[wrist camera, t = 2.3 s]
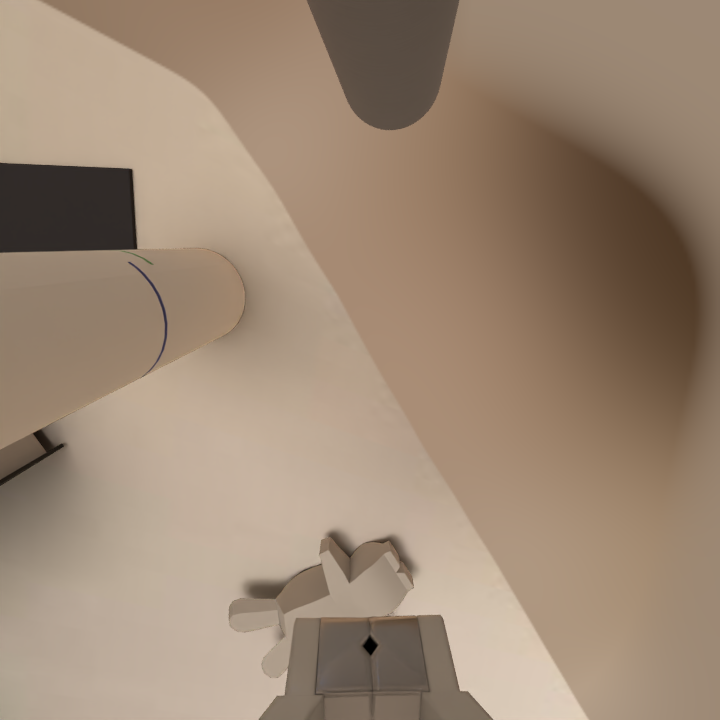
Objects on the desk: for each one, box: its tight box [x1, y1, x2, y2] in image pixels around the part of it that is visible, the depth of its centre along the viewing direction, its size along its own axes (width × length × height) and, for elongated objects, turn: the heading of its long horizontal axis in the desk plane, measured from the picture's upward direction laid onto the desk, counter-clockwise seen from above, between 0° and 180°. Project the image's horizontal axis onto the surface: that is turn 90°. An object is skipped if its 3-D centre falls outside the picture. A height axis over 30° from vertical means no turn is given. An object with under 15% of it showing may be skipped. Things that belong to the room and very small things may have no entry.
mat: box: [0, 163, 136, 253], centre depth 38 cm, size 14×22×1 cm, turn 87°
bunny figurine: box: [229, 537, 414, 678], centre depth 40 cm, size 10×5×15 cm
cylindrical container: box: [0, 248, 245, 449], centre depth 25 cm, size 7×7×25 cm
